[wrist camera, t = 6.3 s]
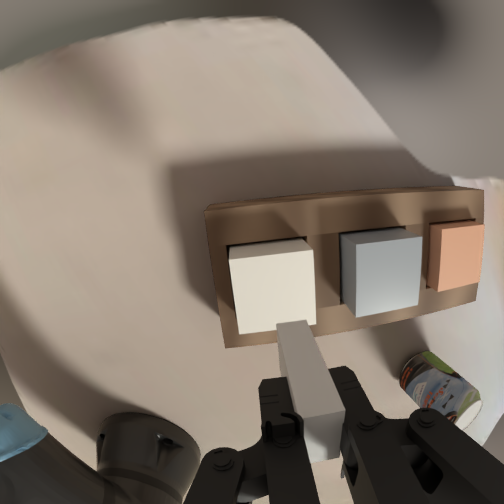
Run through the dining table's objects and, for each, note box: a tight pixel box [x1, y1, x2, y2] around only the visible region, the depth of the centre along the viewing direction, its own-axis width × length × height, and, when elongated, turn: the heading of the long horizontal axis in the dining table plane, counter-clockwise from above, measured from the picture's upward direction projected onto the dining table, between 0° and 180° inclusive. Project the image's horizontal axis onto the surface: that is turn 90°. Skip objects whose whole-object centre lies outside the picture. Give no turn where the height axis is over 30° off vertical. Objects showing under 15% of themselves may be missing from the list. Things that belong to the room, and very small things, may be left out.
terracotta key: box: [426, 219, 485, 292], centre depth 25 cm, size 6×6×4 cm
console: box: [204, 186, 484, 348], centre depth 27 cm, size 27×12×5 cm, turn 96°
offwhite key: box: [229, 238, 316, 334], centre depth 24 cm, size 6×6×4 cm
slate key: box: [339, 227, 422, 317], centre depth 24 cm, size 6×6×4 cm
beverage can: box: [399, 351, 483, 431], centre depth 29 cm, size 6×7×12 cm
